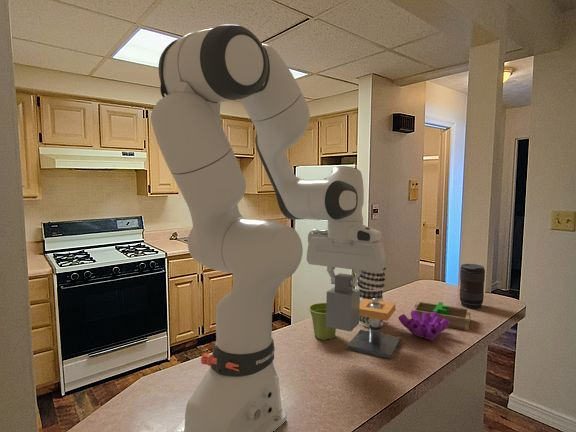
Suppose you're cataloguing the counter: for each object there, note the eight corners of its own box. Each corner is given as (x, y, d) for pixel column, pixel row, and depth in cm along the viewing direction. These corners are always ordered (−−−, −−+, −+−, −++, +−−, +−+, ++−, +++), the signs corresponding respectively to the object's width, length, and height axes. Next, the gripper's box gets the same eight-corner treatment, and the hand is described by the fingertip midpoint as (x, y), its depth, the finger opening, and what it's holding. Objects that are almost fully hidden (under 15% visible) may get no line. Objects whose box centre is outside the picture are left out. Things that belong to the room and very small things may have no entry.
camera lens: (453, 304, 137) (455, 264, 135) (469, 301, 140) (470, 262, 139) (472, 311, 129) (474, 269, 128) (488, 307, 133) (490, 267, 131)
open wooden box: (468, 330, 113) (468, 319, 112) (411, 320, 121) (411, 310, 121) (470, 319, 121) (470, 309, 121) (416, 311, 130) (417, 301, 129)
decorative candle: (386, 319, 122) (387, 245, 120) (382, 329, 114) (384, 250, 111) (358, 315, 126) (359, 243, 123) (353, 325, 117) (354, 248, 115)
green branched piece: (444, 326, 116) (444, 313, 115) (432, 323, 118) (432, 310, 117) (449, 315, 125) (450, 303, 124) (438, 313, 127) (439, 301, 126)
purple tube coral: (405, 351, 106) (389, 320, 110) (431, 337, 116) (415, 309, 120) (436, 339, 99) (417, 306, 102) (461, 324, 108) (443, 295, 112)
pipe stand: (390, 359, 95) (391, 308, 93) (347, 349, 101) (347, 301, 99) (401, 341, 105) (402, 295, 104) (360, 333, 111) (361, 290, 110)
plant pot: (303, 338, 107) (303, 310, 107) (316, 327, 116) (316, 300, 115) (333, 345, 103) (333, 315, 102) (344, 332, 111) (344, 305, 111)
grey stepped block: (350, 331, 90) (352, 279, 89) (325, 326, 93) (327, 276, 92) (359, 323, 96) (360, 274, 95) (335, 318, 99) (336, 271, 98)
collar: (387, 320, 96) (387, 313, 96) (354, 315, 100) (354, 307, 100) (395, 310, 104) (395, 303, 103) (364, 305, 108) (364, 298, 108)
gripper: (302, 229, 95) (301, 282, 96) (381, 235, 85) (379, 293, 86) (313, 228, 100) (312, 277, 101) (388, 233, 91) (386, 287, 91)
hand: (343, 285), depth 94 cm, fingers closed on grey stepped block, 3 cm apart
